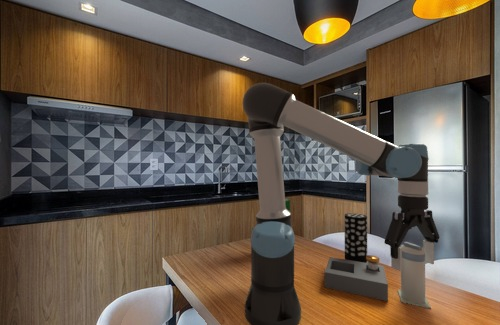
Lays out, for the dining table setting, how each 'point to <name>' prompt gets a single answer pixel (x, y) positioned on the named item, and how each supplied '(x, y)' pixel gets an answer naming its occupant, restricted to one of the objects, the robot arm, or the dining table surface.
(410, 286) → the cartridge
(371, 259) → the gold lidded jar
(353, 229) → the white-spotted black cylinder
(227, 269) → the dining table surface
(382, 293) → the block
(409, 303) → the mat
